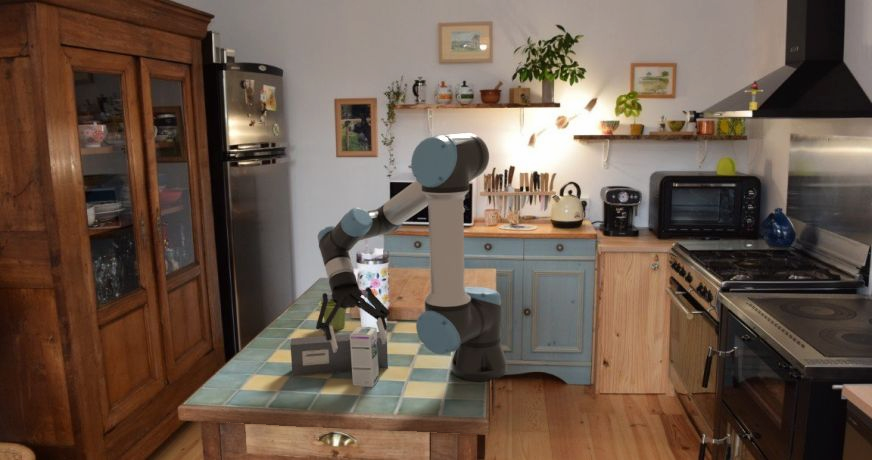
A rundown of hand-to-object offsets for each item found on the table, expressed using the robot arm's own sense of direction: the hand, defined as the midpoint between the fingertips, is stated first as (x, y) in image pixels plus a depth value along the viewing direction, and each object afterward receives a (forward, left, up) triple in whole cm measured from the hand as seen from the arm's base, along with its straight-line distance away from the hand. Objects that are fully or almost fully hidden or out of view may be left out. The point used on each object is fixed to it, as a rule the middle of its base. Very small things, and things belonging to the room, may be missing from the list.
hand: (360, 346), depth 179 cm
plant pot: (+35, -27, -10) cm, 45 cm away
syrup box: (-2, 0, -10) cm, 10 cm away
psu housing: (+10, -3, -10) cm, 14 cm away
